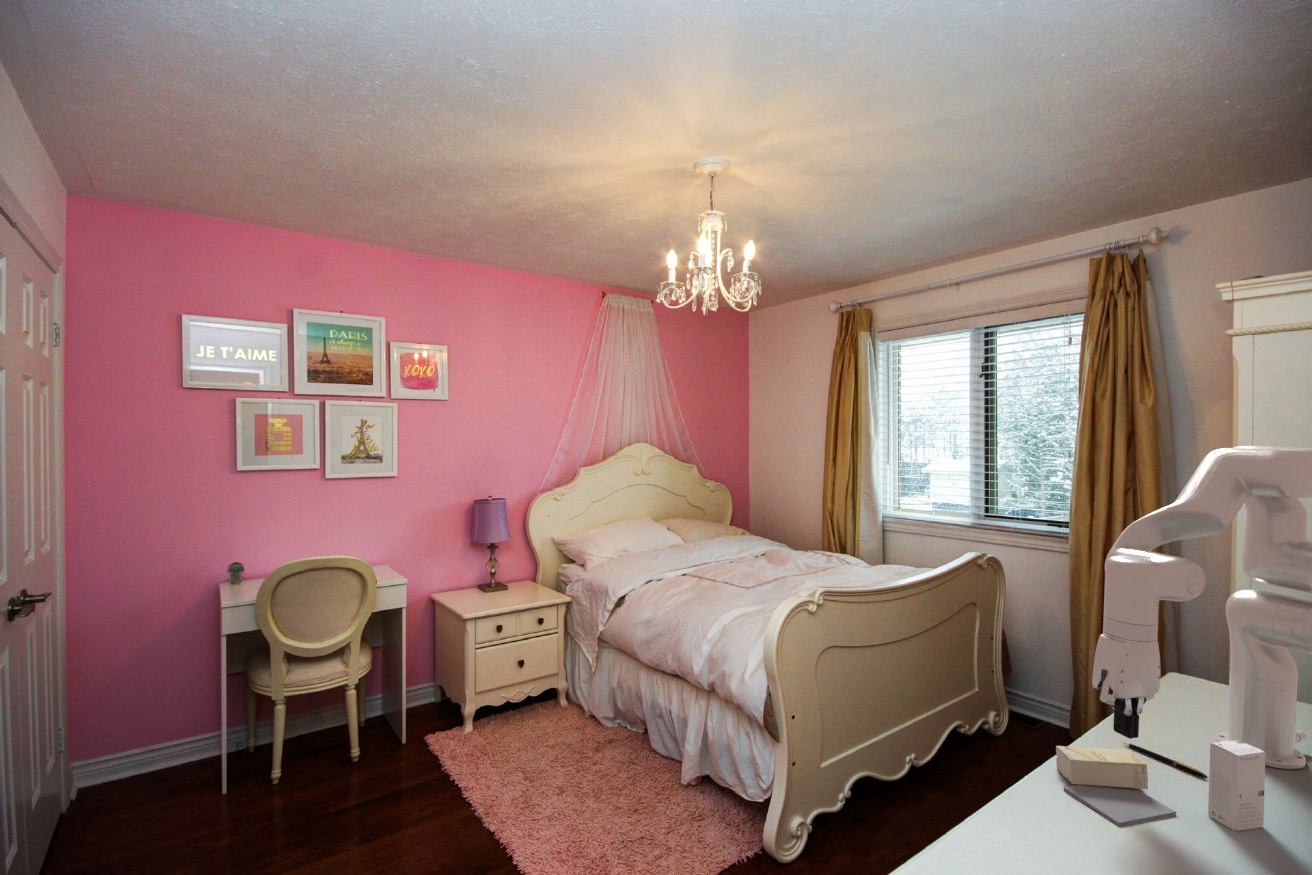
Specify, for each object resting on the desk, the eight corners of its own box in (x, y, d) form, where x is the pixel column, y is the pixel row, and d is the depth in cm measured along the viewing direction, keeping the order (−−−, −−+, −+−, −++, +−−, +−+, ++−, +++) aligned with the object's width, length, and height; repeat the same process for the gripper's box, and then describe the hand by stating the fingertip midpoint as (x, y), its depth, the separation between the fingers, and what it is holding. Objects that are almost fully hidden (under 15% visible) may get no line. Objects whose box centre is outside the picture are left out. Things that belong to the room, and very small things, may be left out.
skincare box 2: (1235, 832, 100) (1239, 756, 99) (1205, 814, 104) (1208, 741, 104) (1265, 827, 101) (1269, 752, 101) (1234, 810, 105) (1237, 738, 105)
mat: (1117, 780, 114) (1117, 777, 114) (1175, 814, 104) (1176, 811, 104) (1063, 789, 110) (1063, 787, 110) (1119, 825, 101) (1119, 822, 101)
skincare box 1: (1148, 764, 109) (1071, 758, 111) (1149, 790, 109) (1072, 785, 111) (1127, 748, 116) (1054, 744, 118) (1128, 774, 115) (1055, 768, 117)
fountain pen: (1118, 745, 127) (1118, 737, 127) (1121, 743, 127) (1122, 736, 127) (1207, 782, 114) (1207, 773, 114) (1210, 780, 114) (1210, 772, 114)
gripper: (1141, 619, 115) (1137, 719, 115) (1075, 625, 111) (1071, 728, 111) (1185, 633, 108) (1181, 740, 108) (1117, 639, 104) (1112, 750, 104)
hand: (1125, 734), depth 110 cm, fingers closed
